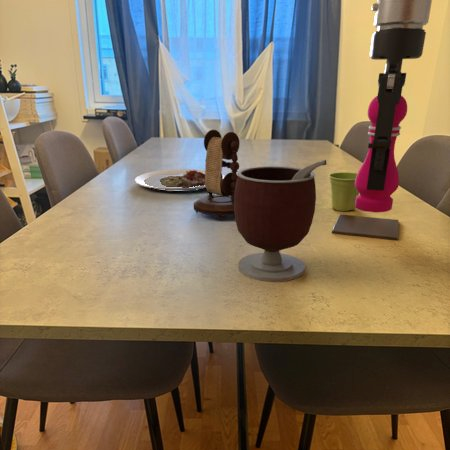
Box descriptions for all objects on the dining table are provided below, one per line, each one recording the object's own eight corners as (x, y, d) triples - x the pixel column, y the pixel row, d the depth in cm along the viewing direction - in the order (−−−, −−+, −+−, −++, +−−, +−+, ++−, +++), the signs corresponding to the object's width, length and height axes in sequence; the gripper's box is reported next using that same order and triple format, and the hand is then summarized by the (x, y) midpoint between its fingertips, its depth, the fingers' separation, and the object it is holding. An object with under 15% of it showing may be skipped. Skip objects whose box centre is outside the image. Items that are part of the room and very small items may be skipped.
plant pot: (323, 211, 113) (326, 177, 109) (327, 202, 121) (330, 171, 117) (360, 214, 110) (365, 180, 106) (362, 205, 118) (366, 173, 114)
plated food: (118, 190, 134) (116, 179, 133) (159, 172, 160) (158, 163, 158) (209, 197, 126) (208, 186, 125) (237, 177, 152) (237, 167, 150)
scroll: (182, 212, 113) (178, 130, 104) (225, 202, 121) (225, 126, 112) (218, 225, 103) (217, 136, 94) (262, 213, 111) (265, 131, 102)
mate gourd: (219, 271, 78) (217, 157, 69) (257, 249, 88) (260, 146, 79) (297, 292, 70) (307, 166, 61) (329, 265, 81) (342, 153, 71)
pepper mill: (398, 205, 78) (419, 81, 68) (389, 215, 72) (411, 81, 63) (358, 200, 81) (373, 81, 72) (346, 210, 75) (362, 82, 66)
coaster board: (398, 222, 105) (398, 219, 104) (397, 240, 93) (397, 237, 93) (339, 216, 109) (339, 214, 109) (331, 233, 97) (331, 230, 97)
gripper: (376, 35, 74) (359, 172, 84) (368, 23, 57) (347, 196, 67) (424, 33, 71) (399, 174, 82) (430, 20, 55) (398, 200, 65)
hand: (376, 184), depth 75 cm, fingers closed on pepper mill, 7 cm apart
